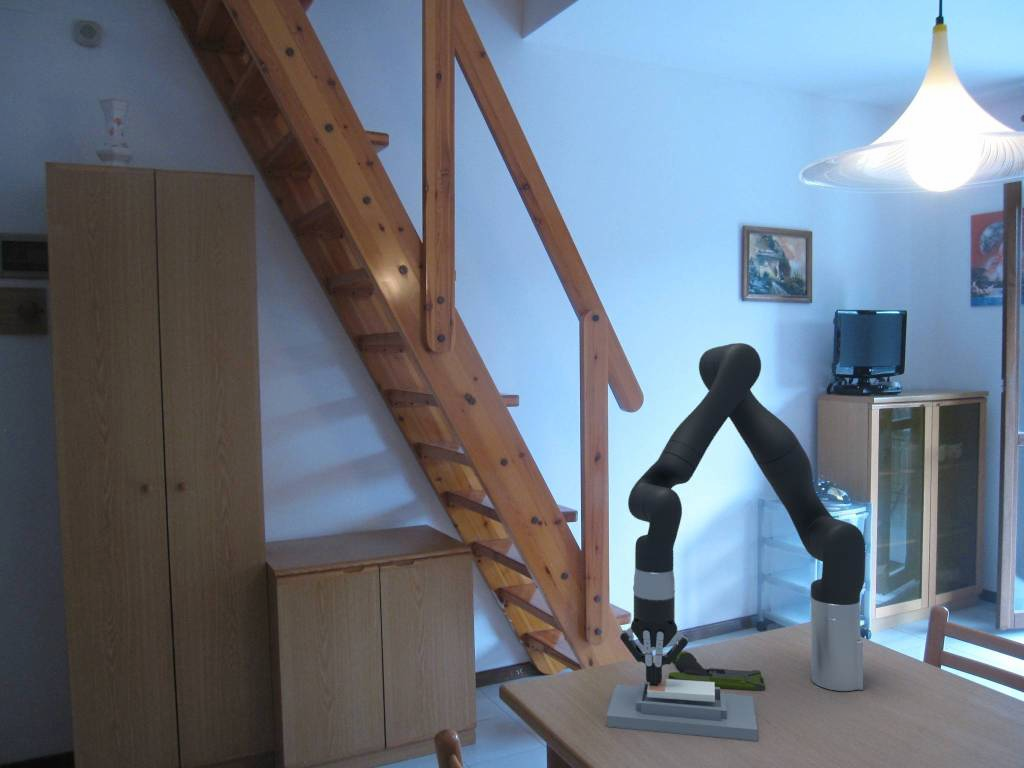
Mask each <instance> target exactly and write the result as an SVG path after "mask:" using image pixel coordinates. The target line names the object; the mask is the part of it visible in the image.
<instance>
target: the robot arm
mask: <svg viewBox="0 0 1024 768" xmlns="http://www.w3.org/2000/svg"><path fill="white" fill-rule="evenodd" d="M761 371H762V360H761V356H760V355H759V353H758V351H757V350H756V349H755V348H754V347H753V346H751V345H750V344H747V343H742V342H741V343H740V342H739V343H738V342H735V343H734V342H733V343H729V344H724V345H721V346H716V347H712V348H708V349H707V350H706V351H705V352H703V353H702V355H701V357H700V358H699V362H698V372H699V376H700V379H701V380H702V382H703V384H704V386H705V387H706V389H707V391H708V392H707V393H706V395H705V396H704V397H703V399H702V400H701V401H700V402H699V404H698V405H697V406H696V407H695V408H694V409H693V410H692V411H691V412H690V413H689V414H688V415H687V416H686V417H685V418H684V419H683V421H681V422H680V424H679V425H678V426H677V427H676V429H675V430H674V431H673V433H672V434H671V436H670V437H669V439H668V441H666V444H665V446H664V448H663V449H662V451H661V453H660V455H659V456H658V459H657V460H656V461H655V462H654V463H653V464H652V465H651V466H650V467H649V468H648V469H647V470H646V471H645V473H643V475H642V476H640V478H639V479H638V480H637V481H636V482H635V483H634V485H633V487H632V488H631V490H630V493H629V495H628V500H627V507H628V510H629V513H630V514H631V515H632V516H633V517H634V518H635V519H637V520H639V521H643V522H646V523H649V525H648V531H647V534H643V535H640V536H639V537H638V538H637V539H636V541H635V547H634V548H635V549H634V550H635V551H634V555H635V557H634V561H635V562H634V564H635V565H634V567H635V568H634V575H633V586H632V589H633V590H632V591H633V620H632V621H631V624H630V627H628V628H627V629H624V630H622V631H621V633H620V636H619V637H620V640H621V642H622V643H623V644H624V646H625V647H626V648H627V649H628V651H629V653H630V654H631V655H632V657H633V658H634V659H635V660H636V662H637V663H643V664H644V665H645V669H646V670H645V681H647V682H650V686H653V685H654V686H658V683H661V681H662V678H663V666H665V665H670V664H672V663H673V660H674V659H675V658H676V657H677V656H678V654H679V653H680V652H682V651H684V649H685V648H686V647H687V646H688V643H689V642H688V641H689V637H688V636H687V635H686V634H682V633H681V632H680V631H678V625H677V624H676V620H675V619H676V618H675V616H676V615H675V614H676V613H675V612H676V611H675V609H676V608H675V605H676V604H675V601H676V599H675V597H676V596H675V594H676V589H675V587H676V586H675V584H676V583H675V581H676V579H675V573H674V546H675V543H676V539H677V536H678V532H679V529H680V525H681V520H682V516H683V506H682V502H681V498H680V496H679V495H678V493H677V492H676V491H675V490H673V488H674V487H675V486H677V485H682V484H686V483H688V482H689V481H690V480H691V479H692V477H693V475H694V473H695V472H696V470H697V468H698V467H699V465H700V463H701V461H702V459H703V457H704V455H705V454H706V452H707V450H708V448H709V447H710V444H712V441H713V440H714V438H715V437H716V436H717V434H718V432H719V431H720V430H721V429H722V427H723V425H724V423H726V421H727V419H728V418H729V420H730V421H731V422H732V424H733V426H734V428H735V429H736V431H737V433H738V434H739V436H740V437H741V439H742V441H743V442H744V443H745V445H746V447H747V449H748V450H749V452H750V454H751V455H752V457H753V459H754V461H755V462H756V464H757V466H758V467H759V469H760V471H761V472H762V474H763V476H764V477H765V478H766V480H767V482H768V483H769V485H770V486H771V488H772V489H773V491H774V493H775V494H776V496H777V498H778V499H779V500H780V502H781V503H782V505H783V506H784V508H785V509H786V511H787V513H788V516H789V518H790V520H791V521H792V523H793V526H794V527H795V528H794V529H795V531H796V533H797V534H798V536H799V539H800V541H801V543H802V545H803V546H804V548H805V550H806V552H807V553H808V554H809V555H810V556H811V557H812V558H814V559H816V560H818V561H820V562H822V566H821V567H822V570H821V571H822V573H821V578H819V579H815V580H813V581H812V583H811V585H810V627H811V628H810V631H811V633H810V634H811V635H810V640H811V641H810V642H811V644H810V647H811V648H810V651H811V653H810V654H811V655H810V656H811V659H810V660H811V668H810V669H811V681H812V682H813V683H814V684H815V685H817V686H818V687H821V688H824V689H826V690H827V689H828V690H829V691H837V692H839V691H840V692H850V691H851V692H852V691H855V690H857V691H858V690H860V691H861V690H862V691H863V690H864V649H863V648H864V645H863V640H862V639H861V593H862V590H863V588H864V585H865V577H866V576H865V572H866V555H867V554H866V542H865V538H864V534H863V533H862V531H861V530H860V529H859V527H858V526H856V525H854V524H853V523H850V522H847V521H844V520H840V519H837V518H835V517H834V516H833V515H832V514H831V513H830V512H829V511H828V509H827V508H826V507H825V505H824V503H823V502H822V500H821V499H820V497H819V495H818V493H817V492H816V489H815V485H814V478H813V469H812V464H811V462H810V459H809V457H808V455H807V454H808V453H806V451H805V450H804V448H803V446H802V444H801V443H800V441H799V439H798V438H797V436H796V435H795V433H794V432H793V431H792V430H791V428H790V427H789V426H788V425H787V424H786V423H784V422H783V421H782V420H781V419H780V418H778V417H777V416H776V415H775V414H774V413H772V412H771V411H770V410H768V409H767V407H765V406H764V405H763V404H762V403H761V402H760V401H759V400H758V399H757V397H756V396H755V395H754V393H753V392H752V390H751V389H752V387H754V385H755V384H756V382H757V380H758V379H759V377H760V374H761V373H762V372H761ZM635 637H636V639H637V640H638V641H639V643H640V644H641V645H642V646H643V649H644V650H643V651H644V652H643V651H642V650H641V648H640V647H639V645H638V643H636V642H635V640H634V639H635ZM673 638H674V640H673V643H674V644H673V646H672V647H670V648H671V649H669V650H668V652H667V653H666V654H665V655H663V652H664V648H666V647H667V646H668V645H669V643H670V642H671V641H672V639H673ZM653 648H655V655H654V656H655V657H654V656H653V654H654V653H653Z"/></svg>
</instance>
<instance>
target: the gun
mask: <svg viewBox="0 0 1024 768" xmlns="http://www.w3.org/2000/svg"><path fill="white" fill-rule="evenodd" d="M672 663H673V664H674V665H675V668H677V670H679V671H673V672H671V671H670V672H669V673H668V679H674V680H689V681H704V682H714V683H715V687H720V689H726V690H727V689H728V690H737V691H739V690H740V691H752V692H753V691H754V692H762V691H765V689H766V683H764V681H765V680H764V678H763V675H762V672H761V670H757V669H752V670H739V669H727V668H715V667H713V668H712V667H710V668H704V667H703V666H702V665H701V664H700V663H699V662H698V661H697V658H696V657H695V655H693V654H692V653H691V652H689V651H686V650H682V651H681V652H680V653H679V654H678V656H677V657H676V658H675V659H674V660H673V661H672Z"/></svg>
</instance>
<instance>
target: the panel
mask: <svg viewBox="0 0 1024 768" xmlns="http://www.w3.org/2000/svg"><path fill="white" fill-rule="evenodd" d="M648 683H649V682H647V681H646V680H645V681H644V685H641V684H640V685H639V686H637V685H635V686H634V685H621V684H615V685H614V689H613V692H612V694H611V695H612V696H611V699H610V702H609V706H608V709H607V713H606V727H607V728H617V729H618V728H619V729H627V730H628V729H629V730H640V731H648V732H649V731H650V732H658V733H670V734H681V735H689V736H690V735H691V736H699V737H700V736H701V737H710V738H711V737H712V738H719V739H720V738H722V739H730V740H731V739H733V740H741V741H742V740H743V741H751V742H753V741H754V742H757V741H758V725H757V718H756V710H755V703H754V696H752V695H743V694H731V693H726V692H725V691H721V688H720V687H715V702H708V701H694V700H680V699H666V698H652V697H647V689H648Z"/></svg>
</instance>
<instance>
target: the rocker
mask: <svg viewBox="0 0 1024 768" xmlns="http://www.w3.org/2000/svg"><path fill="white" fill-rule="evenodd" d="M647 697H652V698H666V699H680V700H694V701H708V702H715V683H714V682H704V681H689V680H674V679H669V678H663V677H662V681H661V683H658V686H654V685H653V686H650V682H649V683H648V689H647Z"/></svg>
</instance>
